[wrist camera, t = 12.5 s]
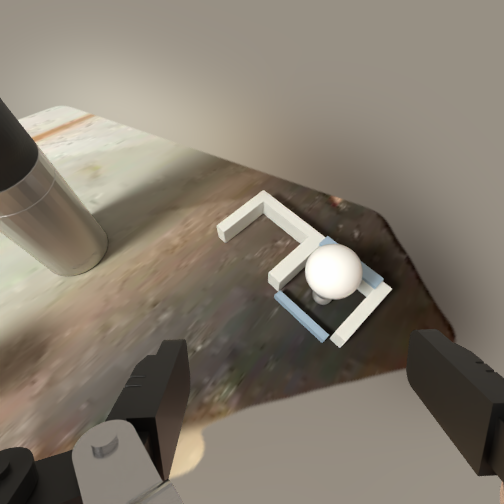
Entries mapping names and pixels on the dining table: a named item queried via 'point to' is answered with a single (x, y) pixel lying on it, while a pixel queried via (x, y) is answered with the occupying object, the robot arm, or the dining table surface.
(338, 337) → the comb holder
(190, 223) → the dining table surface
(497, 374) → the robot arm
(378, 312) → the dining table surface
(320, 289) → the lightbulb
